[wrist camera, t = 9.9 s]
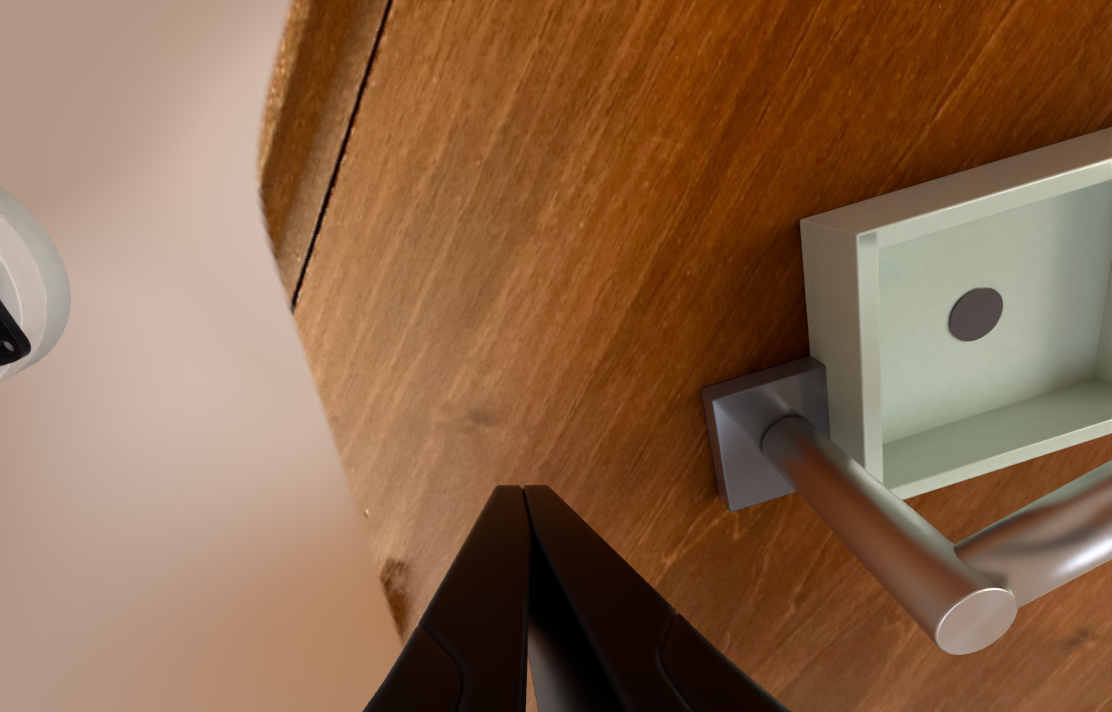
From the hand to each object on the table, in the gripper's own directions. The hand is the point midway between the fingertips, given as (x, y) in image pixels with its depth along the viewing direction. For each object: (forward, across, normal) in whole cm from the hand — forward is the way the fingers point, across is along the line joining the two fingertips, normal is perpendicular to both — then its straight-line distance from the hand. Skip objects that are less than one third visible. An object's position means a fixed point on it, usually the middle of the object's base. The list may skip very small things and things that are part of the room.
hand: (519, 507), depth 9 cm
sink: (+13, -18, 0) cm, 22 cm away
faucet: (+12, -17, +3) cm, 21 cm away
